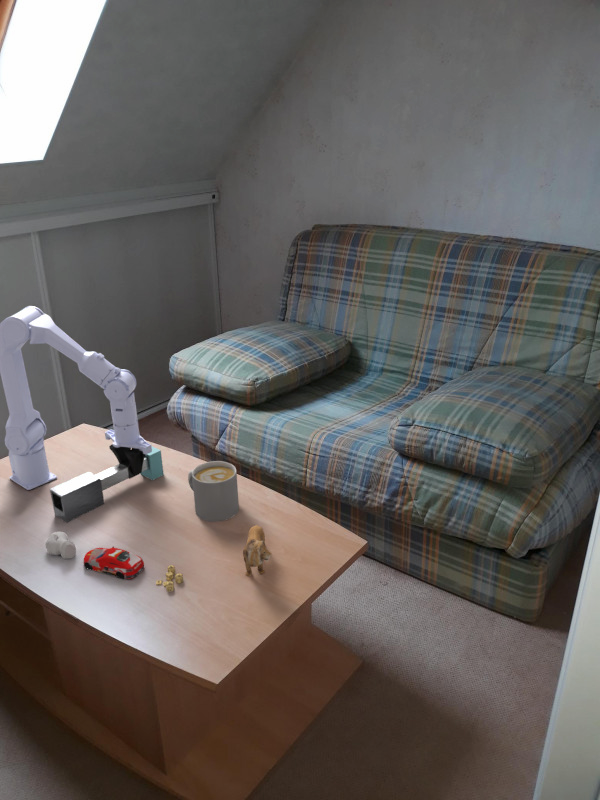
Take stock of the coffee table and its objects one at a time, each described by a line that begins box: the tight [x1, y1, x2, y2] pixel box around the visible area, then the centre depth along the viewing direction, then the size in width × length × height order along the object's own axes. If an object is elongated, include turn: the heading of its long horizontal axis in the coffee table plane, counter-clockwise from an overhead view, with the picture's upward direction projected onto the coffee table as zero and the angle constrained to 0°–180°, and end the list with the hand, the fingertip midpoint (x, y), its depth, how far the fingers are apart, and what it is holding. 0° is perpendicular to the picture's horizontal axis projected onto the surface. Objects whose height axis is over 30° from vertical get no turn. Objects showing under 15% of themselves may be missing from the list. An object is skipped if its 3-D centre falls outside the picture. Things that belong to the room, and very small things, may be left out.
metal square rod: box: [95, 456, 150, 492], centre depth 158 cm, size 3×20×3 cm, turn 140°
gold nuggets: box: [155, 564, 184, 593], centre depth 129 cm, size 5×5×2 cm
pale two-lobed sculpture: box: [45, 531, 77, 560], centre depth 137 cm, size 4×8×5 cm
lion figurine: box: [242, 524, 272, 577], centre depth 132 cm, size 15×5×9 cm, turn 9°
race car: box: [82, 546, 145, 580], centre depth 132 cm, size 13×5×4 cm, turn 66°
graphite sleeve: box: [49, 471, 105, 524], centre depth 151 cm, size 5×10×7 cm, turn 140°
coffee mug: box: [187, 460, 240, 523], centre depth 151 cm, size 13×10×10 cm
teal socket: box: [140, 445, 164, 481], centre depth 165 cm, size 5×4×7 cm
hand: (132, 471), depth 162 cm, fingers closed on metal square rod, 3 cm apart
